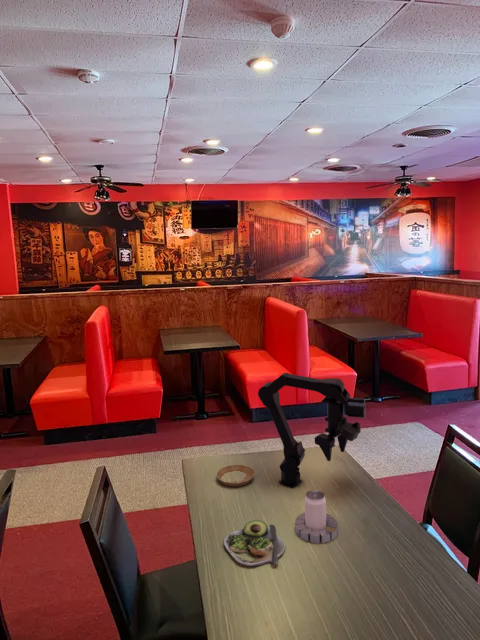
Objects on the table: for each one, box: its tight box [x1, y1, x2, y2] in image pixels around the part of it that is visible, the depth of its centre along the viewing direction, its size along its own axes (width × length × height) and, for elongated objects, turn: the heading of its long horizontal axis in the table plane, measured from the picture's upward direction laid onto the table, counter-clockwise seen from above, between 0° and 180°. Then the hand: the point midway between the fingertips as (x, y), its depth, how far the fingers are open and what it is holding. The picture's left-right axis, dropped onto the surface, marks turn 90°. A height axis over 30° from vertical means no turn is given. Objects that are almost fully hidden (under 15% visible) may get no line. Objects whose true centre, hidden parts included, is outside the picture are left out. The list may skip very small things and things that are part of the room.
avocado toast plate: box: [223, 519, 286, 567], centre depth 137 cm, size 19×18×5 cm
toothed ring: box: [294, 512, 338, 545], centre depth 145 cm, size 13×13×3 cm
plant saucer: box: [216, 464, 256, 487], centre depth 179 cm, size 15×15×3 cm
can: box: [304, 489, 327, 531], centre depth 145 cm, size 6×6×12 cm
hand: (335, 456), depth 167 cm, fingers open, 9 cm apart
